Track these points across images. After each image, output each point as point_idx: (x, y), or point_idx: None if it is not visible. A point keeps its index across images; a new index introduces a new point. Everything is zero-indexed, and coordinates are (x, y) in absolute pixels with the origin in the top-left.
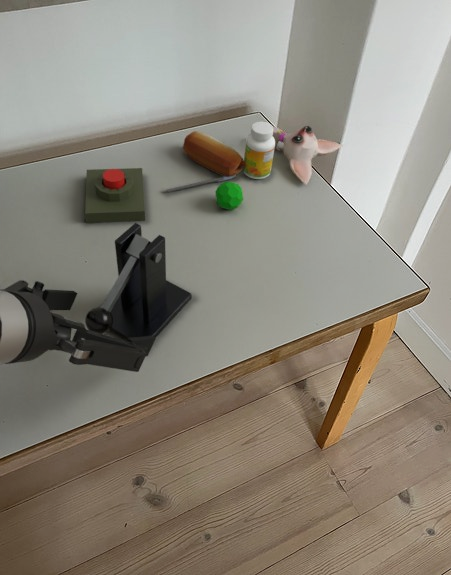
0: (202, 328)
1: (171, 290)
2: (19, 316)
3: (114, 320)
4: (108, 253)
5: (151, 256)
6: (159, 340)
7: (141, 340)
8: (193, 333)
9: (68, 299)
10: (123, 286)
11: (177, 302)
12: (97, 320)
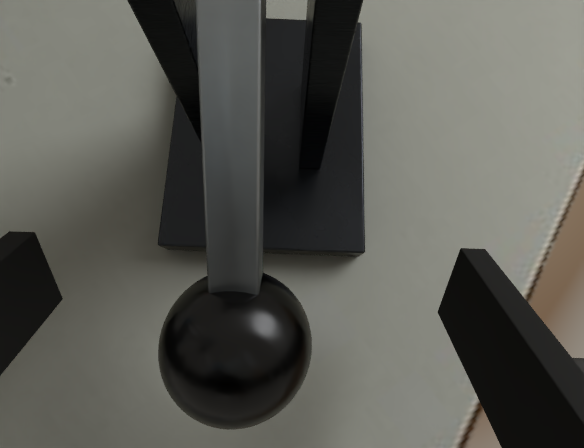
0: (444, 105)
1: (304, 40)
2: None
3: None
4: (53, 24)
5: None
6: (372, 200)
7: (575, 367)
8: (435, 131)
9: (12, 292)
10: (263, 105)
11: (347, 67)
12: (257, 399)
